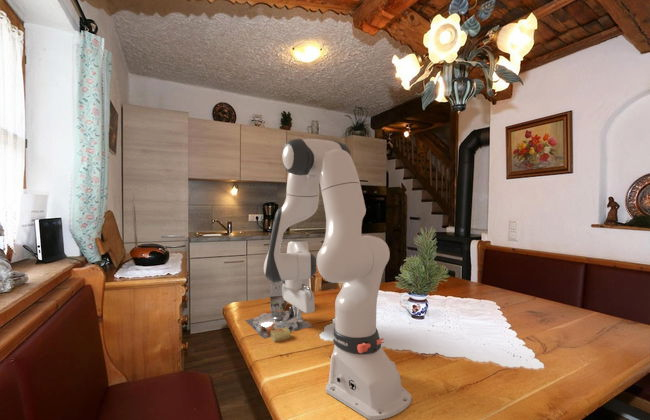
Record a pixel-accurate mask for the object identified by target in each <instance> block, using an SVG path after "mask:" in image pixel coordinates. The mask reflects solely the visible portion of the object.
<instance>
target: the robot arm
mask: <svg viewBox="0 0 650 420" xmlns="http://www.w3.org/2000/svg"><path fill="white" fill-rule="evenodd" d="M353 160H354V159H353V158H352V155H351V151H350V148H349V146H348V145H346V144H345V143H343V142H341V141H336V140H334V141H332V140H326V139H319V138H305V139H302V138H294V139H291V140H288V141H287V142H286V143H285V144H284V146H283V148H282V152H281V161H282V165H283V168H284V169H285V171H287V173H288V174H287V182H286V192H285V195H286V197H285V199H284V202H283V205H282V206H281V207H279V208H278V209H277V210H276V212H275V214H274V218H273V224H272V228H271V233H270V237H269V242H268V243H269V244H268V249H267V254H266V257H265V258H264V259H265V260H264V263H263V274H264V277H265V278H266V279H268V280H269V281H272V282H279V281H281V282H282V283H283V284H282V295H283V299H284V300H285V301H287V304H290V305H291V306H292V307H293V311H294V316H295V317H296V318H297V319H301V318H302V317H303V316H302V315H303V313H305V314H307V315H308V314H311V313H313V312H315V309H316V306H315V295H314V292H313V291H312V290H311V287H310V279H311V278H313V277H314V276H315V274H316V273H317V272H318V273H319V274H320V276H321V277H322V278H323V279H324V281H326V282H328V283H332V284H342V287H341V289H340V290H339V293H338V294H337V296H336V298H335V302H334V321H335V323H334V324H335V325H334V327H333V333H332V338H333V344H334V347H333V350H332V353H331V357H330V362H329V374H328V381H327V384H326V386H325V392H326V393H327V394H328V395H329V396H331V397H333V398H335V400H338V401H339V402H341V403H342V404H344V405H345V406H347V407H349V408H350V409H352V410H353V411H355V412H356V413H358V414H360V415H361V416H363V417H364V418H366V419H368V420H385V419H389V418H392V417H394V416H396V415H398V414H399V413H401V412H403V411H405V410H406V409H407V408H408V407H409V406H410V405H411V403H412V394H411V393H410V392H409V391H408V390H406V389H405V388H404V387H403V386H402V379H401V375H400V372H399V370H398V369H397V365H396V363H395V361H393V360H391V359H390V358H389V356H388V354H387V353H386V352H385V351H384V349H383V347H382V344H383V343H385V341H384V340H385V338H380V334H379V330H378V329H377V303H378V296H379V291H380V287H381V282H382V278H383V275H384V274H383V273H384V270H385V268H386V266H387V265H388V262H389V260H390V253H391V252H390V247H389V246H388V244H387V242H386V241H385V240H383V239H382V238H381V237H378V236H373V235H370V234H369V235H365V234H364V235H362V226H363V220H364V217H365V215H366V214H367V213H366V212H367V208H366V204H365V199H364V195H363V190H362V185H361V182H360V178H359V174H358V171H357V168H356V166H355V163H354V161H353ZM320 192H321V196H322V201H323V207H324V212H325V220H326V221H325V222H326V223H325V234H324V239H323V243H322V245H321V247H320V249H319V250H318V252H317V254H316V256H315V255H314V254H313V253H311V252H310V251H309V250H310V249H309V243H308V241H306V240H290V241H289V242H288V243H287V248H286V252H281V247H282V242H283V237H284V234H285V232H286V230H288V228H290V227H291V226H294V225H296V224H298V223H300V222H304V221H305V220H308V219H309V218H311V217H312V216H313V215H314V214H315V213H316V212H317V210H318V208H319V202H320Z"/></svg>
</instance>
